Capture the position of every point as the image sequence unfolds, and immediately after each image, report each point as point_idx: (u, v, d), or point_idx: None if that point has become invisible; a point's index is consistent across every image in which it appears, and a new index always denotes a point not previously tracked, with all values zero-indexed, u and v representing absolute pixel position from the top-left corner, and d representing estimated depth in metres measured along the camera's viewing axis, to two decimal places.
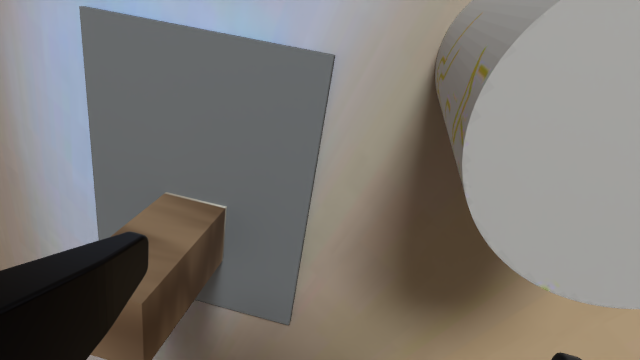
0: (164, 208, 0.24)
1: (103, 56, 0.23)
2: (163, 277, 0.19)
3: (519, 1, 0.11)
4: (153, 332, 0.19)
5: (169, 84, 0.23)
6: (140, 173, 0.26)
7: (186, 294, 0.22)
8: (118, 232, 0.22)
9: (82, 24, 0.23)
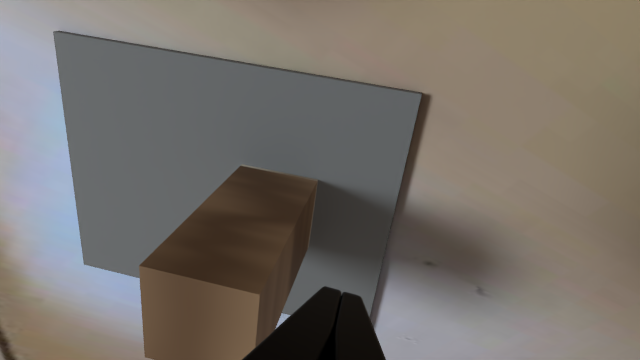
0: None
1: (117, 256, 0.25)
2: (168, 237, 0.15)
3: None
4: (221, 267, 0.14)
5: (124, 202, 0.24)
6: None
7: (263, 223, 0.16)
8: None
9: (97, 266, 0.26)
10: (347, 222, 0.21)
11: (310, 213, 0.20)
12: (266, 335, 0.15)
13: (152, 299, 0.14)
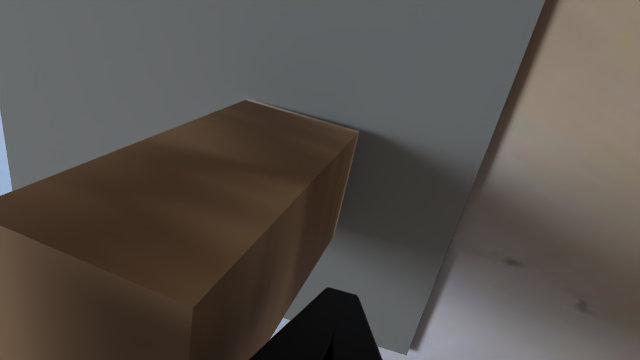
0: None
1: None
2: (66, 173, 0.08)
3: None
4: (136, 237, 0.06)
5: (75, 151, 0.17)
6: None
7: (252, 174, 0.09)
8: None
9: None
10: (399, 195, 0.14)
11: (341, 181, 0.13)
12: None
13: None
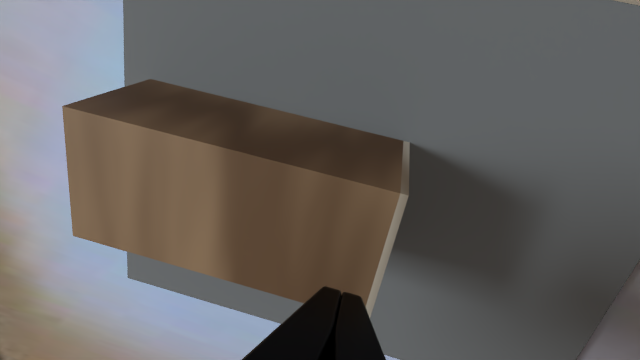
0: None
1: (180, 269, 0.17)
2: (199, 92, 0.14)
3: None
4: (129, 99, 0.12)
5: None
6: None
7: (227, 129, 0.11)
8: None
9: (146, 281, 0.18)
10: (568, 243, 0.14)
11: (354, 234, 0.10)
12: (114, 219, 0.12)
13: None
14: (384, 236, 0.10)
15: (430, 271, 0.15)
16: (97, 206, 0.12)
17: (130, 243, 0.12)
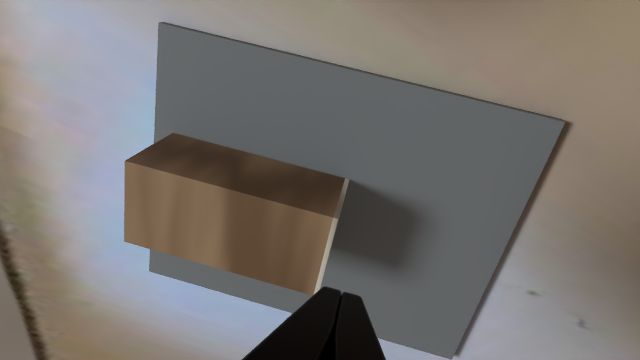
0: None
1: (189, 265, 0.24)
2: (207, 142, 0.21)
3: None
4: (163, 152, 0.18)
5: None
6: None
7: (228, 174, 0.18)
8: None
9: (163, 274, 0.24)
10: (455, 247, 0.20)
11: (307, 242, 0.17)
12: (153, 231, 0.18)
13: None
14: (325, 243, 0.17)
15: (367, 265, 0.22)
16: (142, 222, 0.18)
17: (163, 246, 0.18)
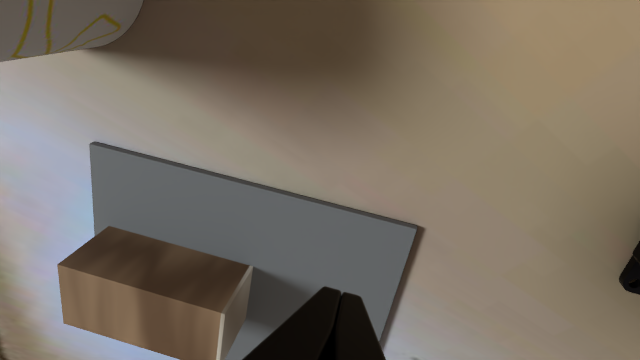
0: None
1: None
2: (136, 234, 0.25)
3: None
4: (93, 251, 0.22)
5: None
6: None
7: (143, 271, 0.22)
8: None
9: None
10: None
11: (204, 330, 0.21)
12: (85, 316, 0.22)
13: None
14: (218, 331, 0.21)
15: None
16: (76, 310, 0.22)
17: (94, 328, 0.22)
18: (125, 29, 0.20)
